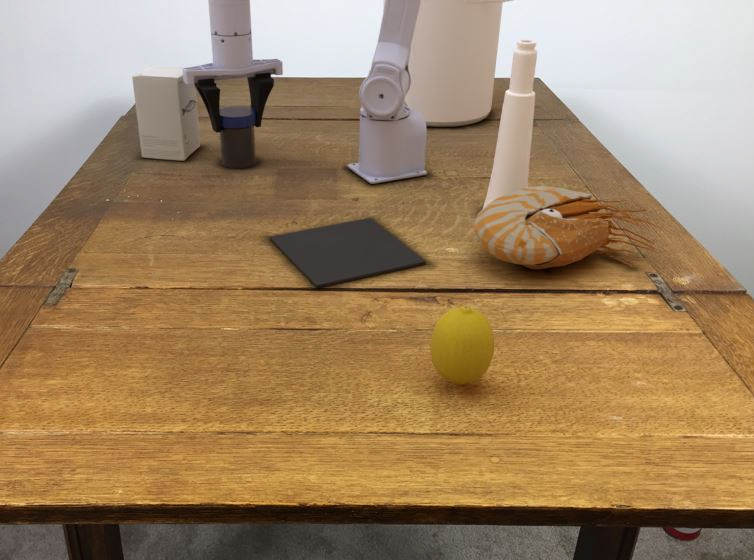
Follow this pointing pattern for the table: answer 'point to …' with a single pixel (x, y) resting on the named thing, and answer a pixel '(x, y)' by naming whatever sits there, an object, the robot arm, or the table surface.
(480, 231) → the nautilus
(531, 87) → the cosmetic bottle
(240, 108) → the jar lid
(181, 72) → the white packaging box
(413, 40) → the bucket
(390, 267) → the mat
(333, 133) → the table surface
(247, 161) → the jar
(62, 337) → the table surface
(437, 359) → the lemon
